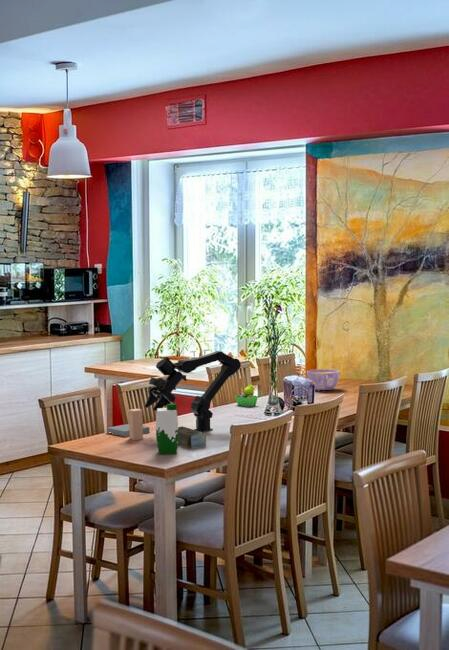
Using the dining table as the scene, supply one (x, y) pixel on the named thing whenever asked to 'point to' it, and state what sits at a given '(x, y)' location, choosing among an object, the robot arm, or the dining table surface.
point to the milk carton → (167, 429)
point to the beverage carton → (191, 438)
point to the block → (135, 424)
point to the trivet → (124, 430)
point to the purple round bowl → (324, 378)
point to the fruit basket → (247, 397)
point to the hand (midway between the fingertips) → (149, 408)
